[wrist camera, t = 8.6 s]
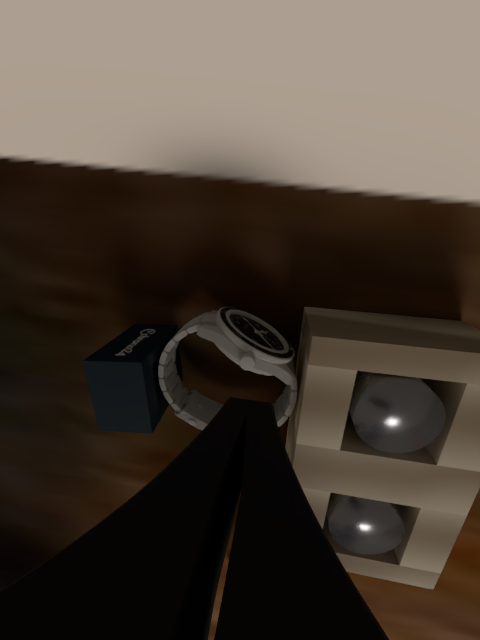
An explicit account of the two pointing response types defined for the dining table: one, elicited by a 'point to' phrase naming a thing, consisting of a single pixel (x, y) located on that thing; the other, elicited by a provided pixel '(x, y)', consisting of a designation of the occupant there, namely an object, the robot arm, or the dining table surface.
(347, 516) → the steel peg
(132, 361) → the watch
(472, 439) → the press block
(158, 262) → the dining table surface
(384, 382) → the steel peg
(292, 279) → the dining table surface
